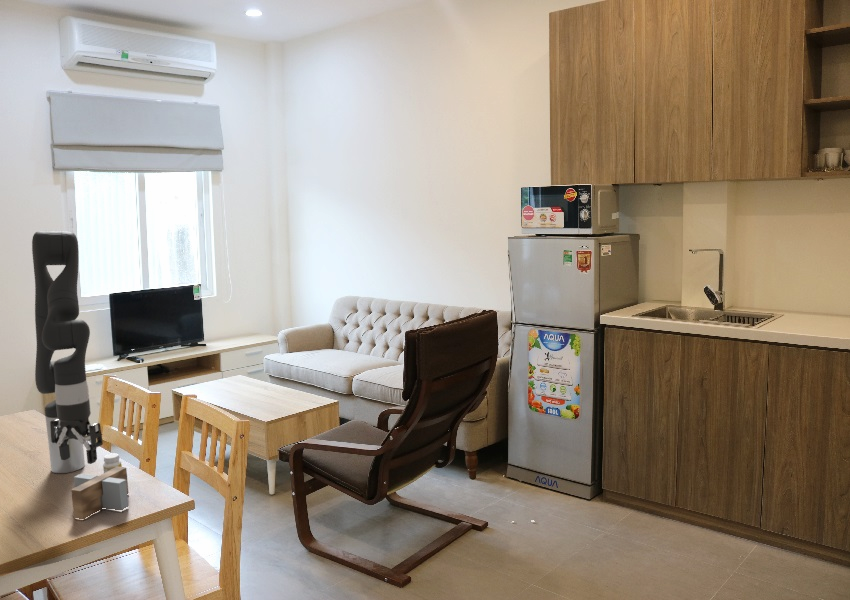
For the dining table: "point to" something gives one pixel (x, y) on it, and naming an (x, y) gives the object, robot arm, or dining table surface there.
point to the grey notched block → (108, 491)
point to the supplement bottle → (111, 461)
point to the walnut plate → (93, 493)
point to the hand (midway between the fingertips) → (78, 460)
